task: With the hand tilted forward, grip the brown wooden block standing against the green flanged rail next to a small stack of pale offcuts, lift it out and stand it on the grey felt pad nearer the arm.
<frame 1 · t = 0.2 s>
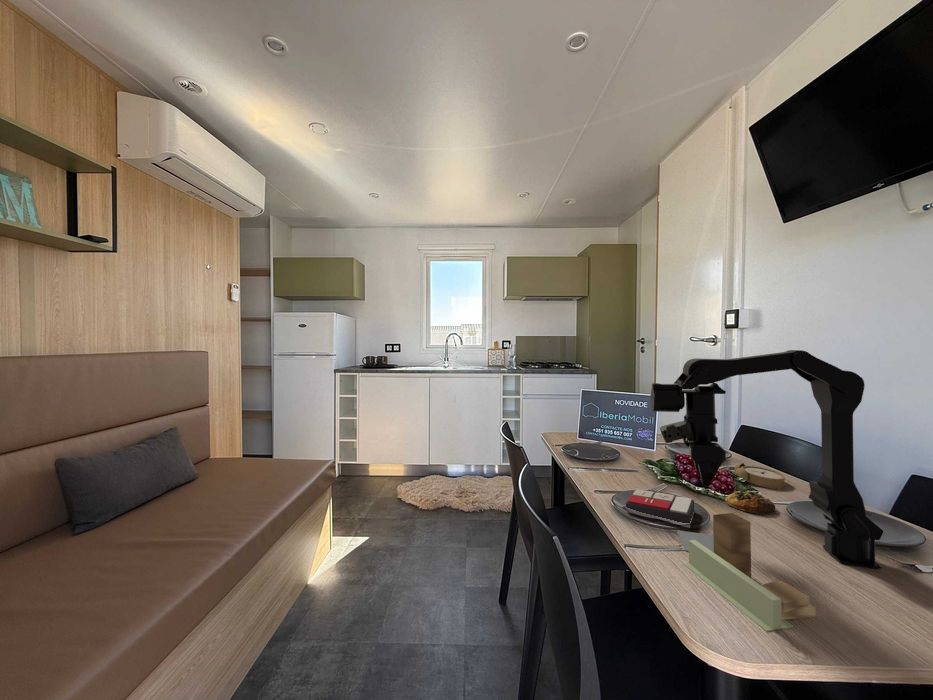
hand: (702, 479, 85), 14 cm above the table, tool pointing down, fingers open, 9 cm apart
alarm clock: (755, 482, 119), on the table
bread roll: (749, 507, 102), on the table
brown wooden block: (732, 573, 73), on the table
offcut upper: (781, 599, 62), point 2 cm above the table, touching offcut lower
offcut lower: (782, 607, 63), on the table, touching offcut upper, green flanged rail
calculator: (660, 514, 99), on the table
felt pad: (706, 544, 83), on the table
green flanged rail: (755, 589, 68), on the table
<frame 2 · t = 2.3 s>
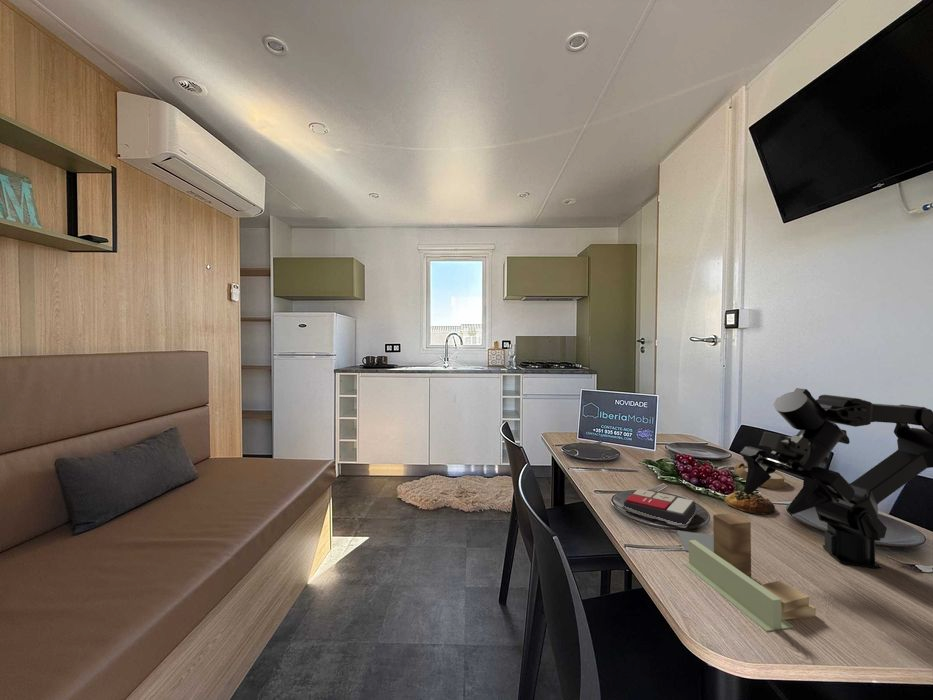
hand: (766, 502, 74), 13 cm above the table, tool tilted 45°, fingers open, 9 cm apart
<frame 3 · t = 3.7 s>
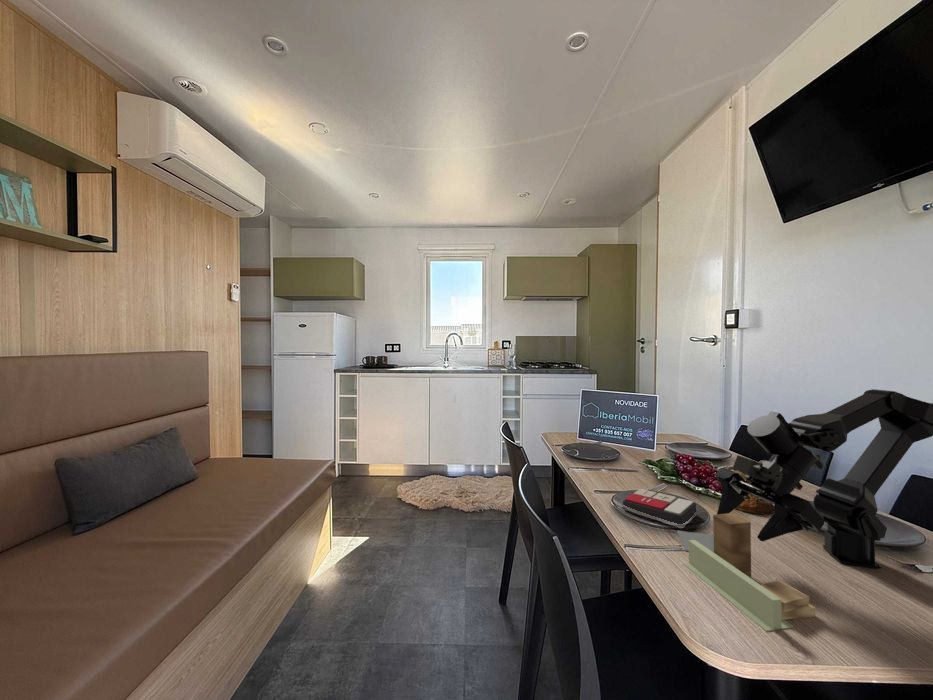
hand: (737, 527, 73), 9 cm above the table, tool tilted 45°, fingers open, 9 cm apart
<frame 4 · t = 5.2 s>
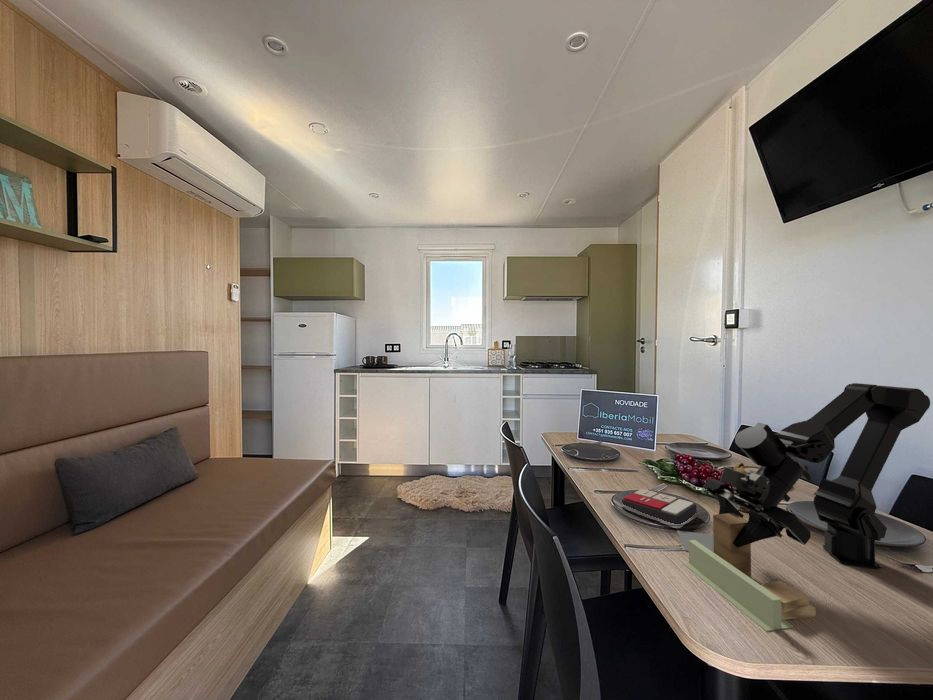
hand: (725, 539, 72), 7 cm above the table, tool tilted 45°, fingers closed on brown wooden block, 4 cm apart
brown wooden block: (732, 573, 73), on the table, touching gripper
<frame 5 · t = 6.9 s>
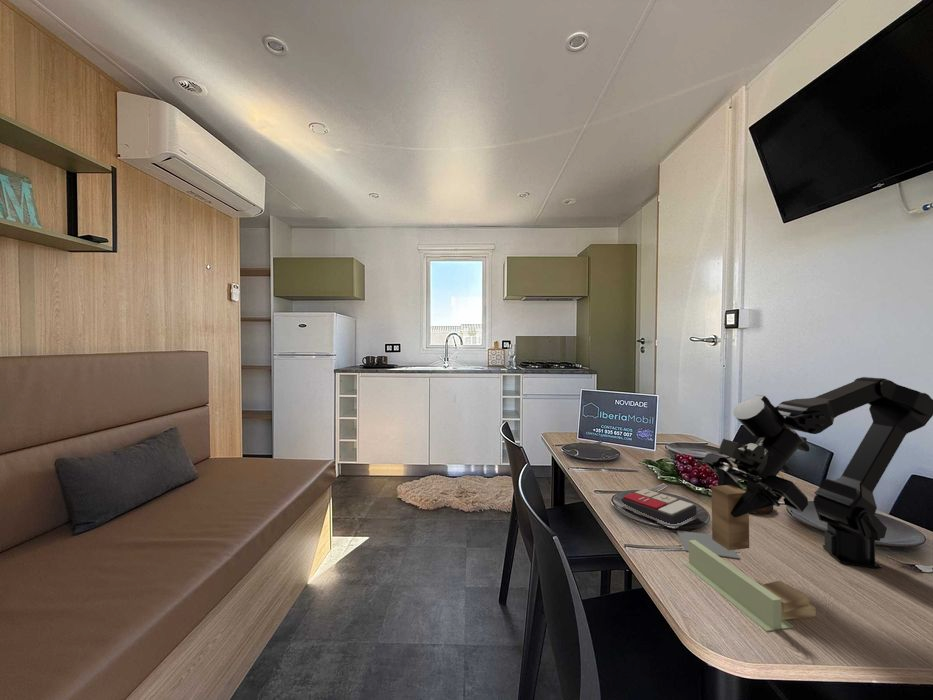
hand: (723, 510, 73), 12 cm above the table, tool tilted 45°, fingers closed on brown wooden block, 4 cm apart
brown wooden block: (730, 543, 73), point 6 cm above the table, touching gripper
when the fingers open (8 cm above the table, at t = 8.9 s): brown wooden block stays where it is, resting on felt pad.
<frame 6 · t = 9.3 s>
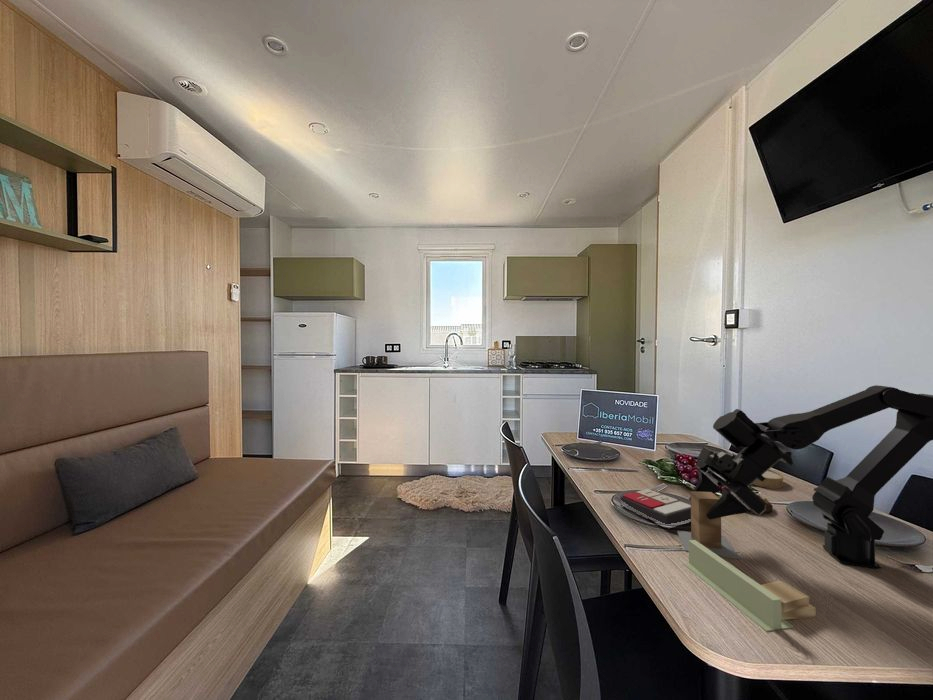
hand: (698, 509, 83), 8 cm above the table, tool tilted 45°, fingers open, 8 cm apart
brown wooden block: (706, 543, 83), resting on felt pad
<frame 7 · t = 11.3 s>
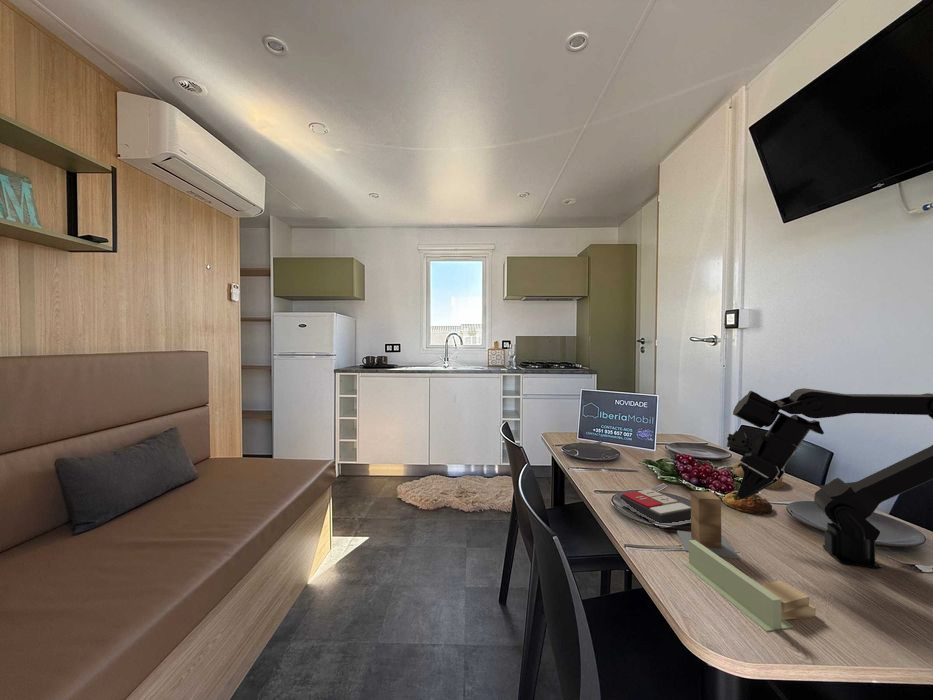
hand: (742, 496, 83), 10 cm above the table, tool tilted 30°, fingers open, 9 cm apart
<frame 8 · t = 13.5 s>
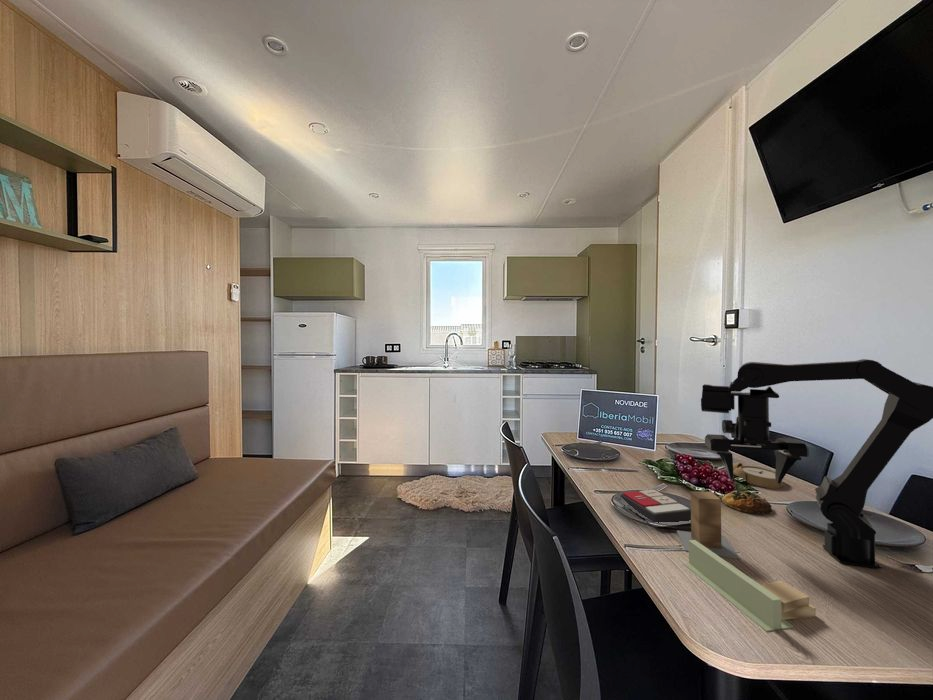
hand: (754, 480, 86), 13 cm above the table, tool pointing down, fingers open, 9 cm apart
at the end: brown wooden block inside the target area on the felt pad (0.0 cm from its centre), point 0.4 cm above the felt pad's base; brown wooden block tilted 0°; the gripper is holding nothing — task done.
